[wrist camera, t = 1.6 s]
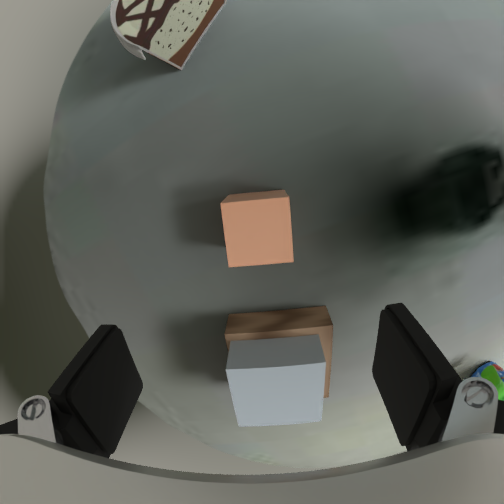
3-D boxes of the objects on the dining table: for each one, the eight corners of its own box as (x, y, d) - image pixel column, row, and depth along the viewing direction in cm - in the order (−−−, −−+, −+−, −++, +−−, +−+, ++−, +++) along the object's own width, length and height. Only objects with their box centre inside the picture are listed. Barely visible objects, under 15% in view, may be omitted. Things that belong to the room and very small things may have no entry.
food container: (185, -18, 20) (159, -66, 11) (233, -6, 21) (221, -60, 11) (128, 66, 24) (77, 39, 14) (174, 82, 24) (134, 52, 15)
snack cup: (498, 380, 37) (521, 411, 27) (459, 410, 39) (479, 444, 29) (500, 333, 33) (531, 367, 23) (454, 369, 35) (482, 410, 25)
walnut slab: (325, 303, 32) (332, 324, 28) (323, 373, 35) (328, 397, 31) (229, 312, 33) (224, 334, 29) (241, 380, 36) (238, 404, 32)
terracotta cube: (284, 189, 28) (289, 197, 23) (288, 243, 30) (293, 261, 24) (228, 194, 28) (220, 203, 23) (234, 247, 30) (228, 267, 25)
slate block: (318, 334, 28) (326, 362, 24) (316, 393, 31) (321, 420, 27) (230, 340, 29) (225, 369, 24) (241, 398, 32) (238, 426, 27)
